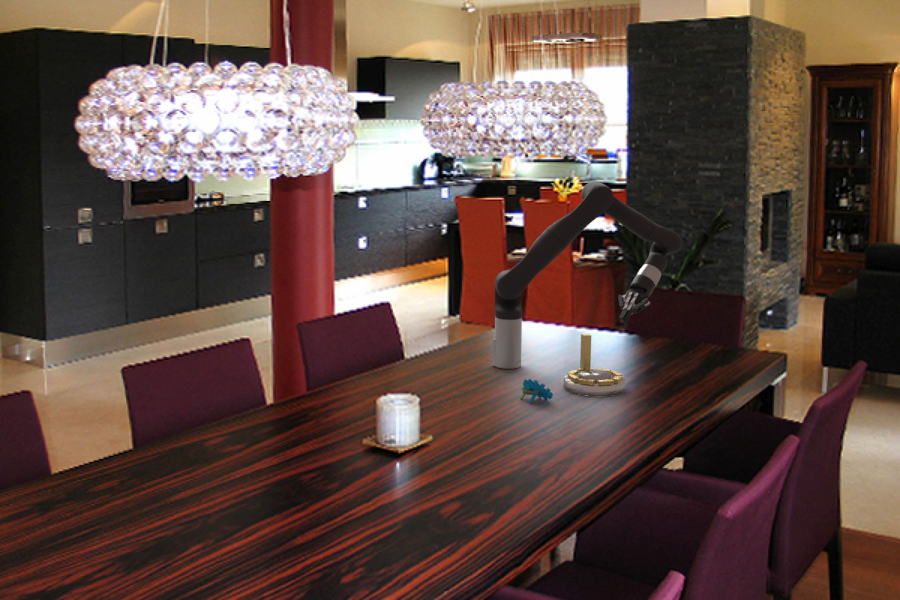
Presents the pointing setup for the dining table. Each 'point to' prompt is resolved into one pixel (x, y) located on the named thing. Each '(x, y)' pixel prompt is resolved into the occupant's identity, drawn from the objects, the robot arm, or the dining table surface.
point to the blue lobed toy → (535, 390)
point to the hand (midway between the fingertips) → (622, 320)
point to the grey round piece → (594, 389)
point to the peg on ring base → (585, 365)
